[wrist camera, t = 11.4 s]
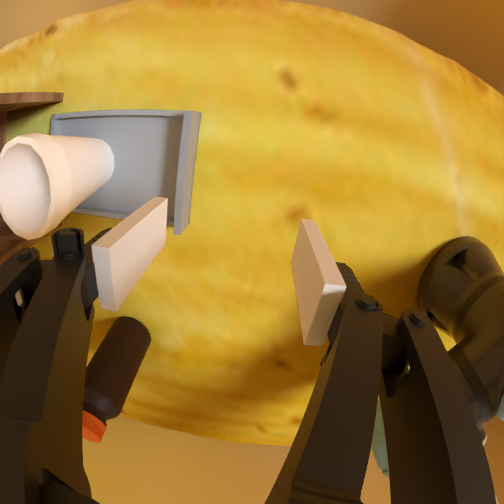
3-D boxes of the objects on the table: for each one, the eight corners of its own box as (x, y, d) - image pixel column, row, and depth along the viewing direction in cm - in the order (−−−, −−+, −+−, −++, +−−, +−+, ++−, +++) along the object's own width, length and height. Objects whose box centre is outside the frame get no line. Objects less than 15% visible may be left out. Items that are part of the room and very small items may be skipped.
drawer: (201, 112, 28) (192, 111, 24) (189, 222, 33) (180, 235, 29) (60, 114, 27) (42, 115, 23) (59, 205, 32) (43, 214, 29)
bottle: (118, 308, 39) (57, 408, 21) (156, 329, 41) (110, 438, 23) (110, 334, 42) (59, 426, 24) (145, 353, 43) (104, 451, 25)
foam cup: (57, 148, 28) (-15, 169, 16) (108, 111, 26) (33, 114, 15) (83, 210, 32) (19, 253, 20) (136, 181, 30) (72, 217, 18)
